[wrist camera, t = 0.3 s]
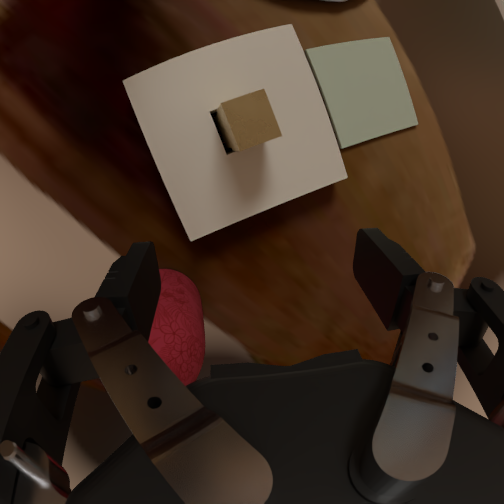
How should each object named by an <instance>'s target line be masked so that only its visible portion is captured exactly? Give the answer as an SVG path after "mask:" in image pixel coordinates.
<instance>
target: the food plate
mask: <svg viewBox="0 0 504 504" xmlns="http://www.w3.org/2000/svg"><path fill="white" fill-rule="evenodd" d="M321 1H334V2H335V1H337V2H344V1H347V0H321Z"/></svg>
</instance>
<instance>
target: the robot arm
mask: <svg viewBox="0 0 504 504" xmlns="http://www.w3.org/2000/svg"><path fill="white" fill-rule="evenodd" d="M353 273H354V276H355V279H356V280H357V282H358V283H359V285H360V286H361V288H362V290H363V291H364V293H365V295H366V296H367V298H368V299H369V301H370V303H371V304H372V306H373V308H374V309H375V311H376V312H377V314H378V316H379V317H380V319H381V321H382V322H383V324H384V326H385V328H386V329H387V331H390V330H395V329H400V330H401V332H400V335H399V337H398V341H397V344H396V347H395V350H394V354H393V357H392V360H391V363H390V365H388V364H385V363H382V362H378V361H374V360H366V359H362V358H361V356H360V354H359V352H358V349H356V350H350V351H343V352H337V353H330V354H324V355H321V356H318V357H315V358H313V359H310V360H307V361H304V362H301V363H298V364H295V365H292V366H275V365H265V364H255V363H237V364H224V365H223V364H221V365H211V376H209V377H205V378H202V379H199V380H197V381H194V382H192V383H190V384H188V385H186V386H185V385H184V384H183V383H182V382H181V381H180V380H179V379H178V377H177V376H176V375H175V374H174V373H173V372H172V371H171V369H170V368H169V367H168V366H167V365H166V364H165V362H164V361H163V360H162V359H161V358H160V356H159V355H158V354H157V353H156V352H155V350H154V349H153V348H152V347H151V345H150V344H149V343H148V341H149V337H150V333H151V328H152V324H153V320H154V316H155V312H156V308H157V304H158V301H159V297H160V293H161V277H160V272H159V267H158V263H157V258H156V253H155V248H154V244H153V242H139V243H133V244H132V246H131V248H130V250H129V251H128V253H127V255H126V256H121V257H120V258H119V259H117V260H116V261H115V262H114V263H113V264H112V266H111V268H110V270H109V273H107V275H106V277H105V279H104V280H103V282H102V284H101V286H100V288H99V290H98V292H97V293H96V295H95V297H94V298H90V299H87V300H85V301H83V302H81V303H80V304H79V305H78V306H76V307H75V309H74V310H73V312H72V318H69V319H65V320H61V321H57V322H52V320H51V318H50V316H49V314H48V313H47V312H45V311H34V312H31V313H29V314H27V315H25V316H24V317H22V318H21V319H20V320H19V321H18V323H17V324H16V326H15V328H14V329H13V331H12V333H11V335H10V336H9V338H8V340H7V342H6V344H5V346H4V347H3V349H2V351H1V353H0V504H504V291H503V290H502V289H501V288H500V286H498V285H497V284H496V283H495V282H493V281H492V280H490V279H487V278H483V277H476V278H473V279H472V281H471V284H470V286H469V289H459V288H454V286H453V283H452V282H451V281H450V280H449V279H448V278H447V277H445V276H443V275H441V274H438V273H434V272H425V271H424V270H423V269H422V268H421V267H420V266H419V264H418V263H417V262H416V261H415V260H414V259H413V258H411V256H410V255H409V254H408V253H406V251H405V250H404V249H403V248H402V247H401V246H400V245H399V244H397V243H396V242H394V241H392V240H390V239H388V238H387V237H386V236H385V235H384V234H383V233H382V232H381V231H380V230H379V229H378V228H367V229H359V231H358V233H357V239H356V246H355V254H354V260H353ZM488 326H489V327H490V328H491V330H492V331H493V332H494V334H495V335H496V336H497V338H498V342H499V347H498V350H497V352H496V354H495V356H494V355H493V353H492V352H491V350H490V349H489V347H488V346H487V344H486V343H485V341H484V340H483V339H482V338H483V336H484V334H485V332H486V330H487V328H488ZM457 362H458V364H459V365H460V367H461V369H462V371H463V372H464V374H465V376H466V378H467V379H468V381H469V382H470V385H471V386H472V388H473V390H474V392H475V394H476V396H477V397H478V399H479V401H480V403H481V405H482V407H483V409H484V411H485V413H486V415H487V417H488V419H489V420H488V419H487V418H485V417H483V416H481V415H479V414H477V413H475V412H474V411H472V410H470V409H468V408H466V407H464V406H463V405H461V404H459V403H457V402H455V401H454V400H453V392H454V384H455V376H456V367H457ZM39 373H40V374H41V375H42V379H41V382H40V385H39V387H38V390H37V393H36V387H35V386H36V380H37V378H38V375H39ZM96 378H100V379H101V381H102V383H103V385H104V386H105V388H106V390H107V392H108V394H109V395H110V397H111V399H112V401H113V402H114V404H115V406H116V407H117V409H118V411H119V412H120V414H121V416H122V417H123V419H124V421H125V422H126V424H127V425H128V427H129V428H130V430H131V431H132V433H133V435H131V437H129V438H128V439H127V440H126V441H125V442H124V443H123V444H122V445H121V446H120V447H119V448H118V449H117V450H115V451H114V453H112V454H111V455H110V456H109V457H108V458H107V459H106V460H105V461H104V462H102V463H101V464H100V465H99V466H98V467H97V468H96V469H95V470H94V471H93V472H91V473H90V474H89V475H88V476H87V477H86V478H85V479H84V480H82V481H81V482H80V483H79V484H78V485H77V486H76V487H75V488H74V489H73V490H72V492H71V489H70V480H69V476H68V474H67V472H66V470H65V469H64V468H63V467H62V461H63V456H64V450H65V446H66V440H67V436H68V431H69V427H70V422H71V418H72V414H73V410H74V406H75V402H76V398H77V394H78V391H79V387H80V383H81V382H82V381H87V380H91V379H96Z"/></svg>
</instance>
